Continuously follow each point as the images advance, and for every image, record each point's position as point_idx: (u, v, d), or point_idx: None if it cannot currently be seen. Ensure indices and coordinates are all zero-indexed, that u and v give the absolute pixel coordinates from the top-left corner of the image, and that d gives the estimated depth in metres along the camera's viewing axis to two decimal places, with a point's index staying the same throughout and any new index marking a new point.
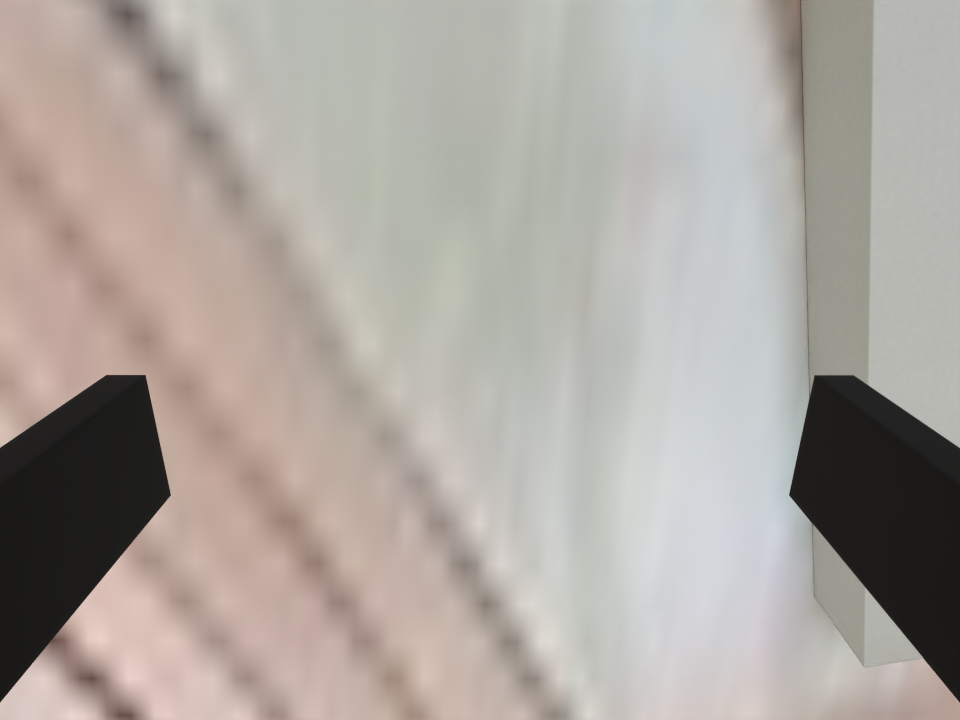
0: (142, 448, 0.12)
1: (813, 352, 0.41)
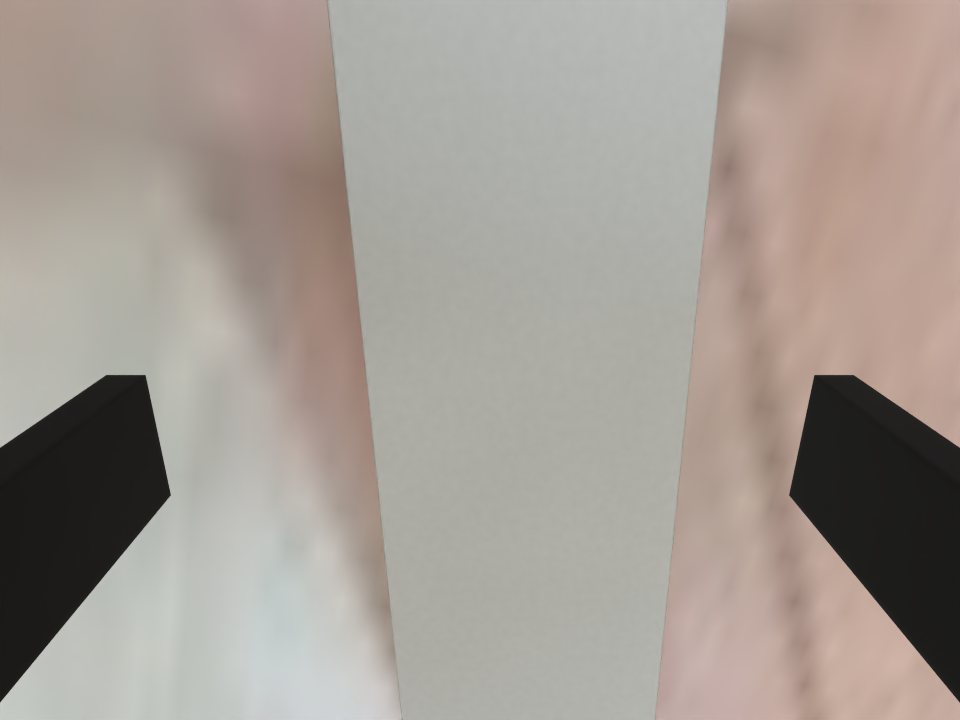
0: (142, 448, 0.12)
1: None
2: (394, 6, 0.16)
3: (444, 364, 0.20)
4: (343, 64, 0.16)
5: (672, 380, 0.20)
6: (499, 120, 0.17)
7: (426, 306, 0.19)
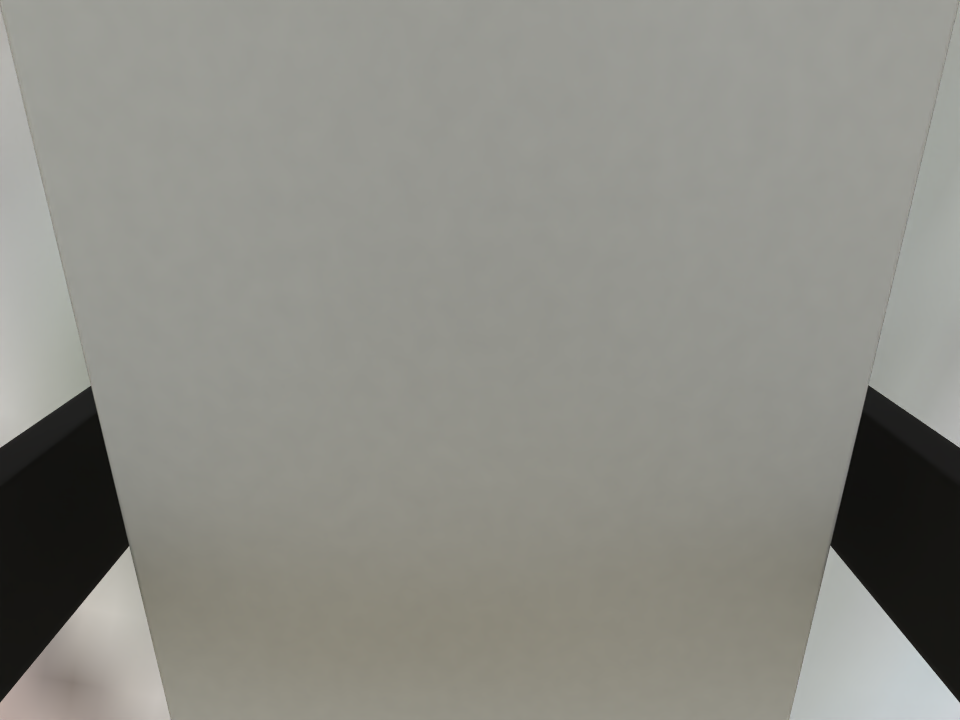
0: None
1: None
2: (167, 51, 0.07)
3: (321, 717, 0.10)
4: (61, 176, 0.07)
5: None
6: (418, 301, 0.08)
7: (280, 627, 0.10)
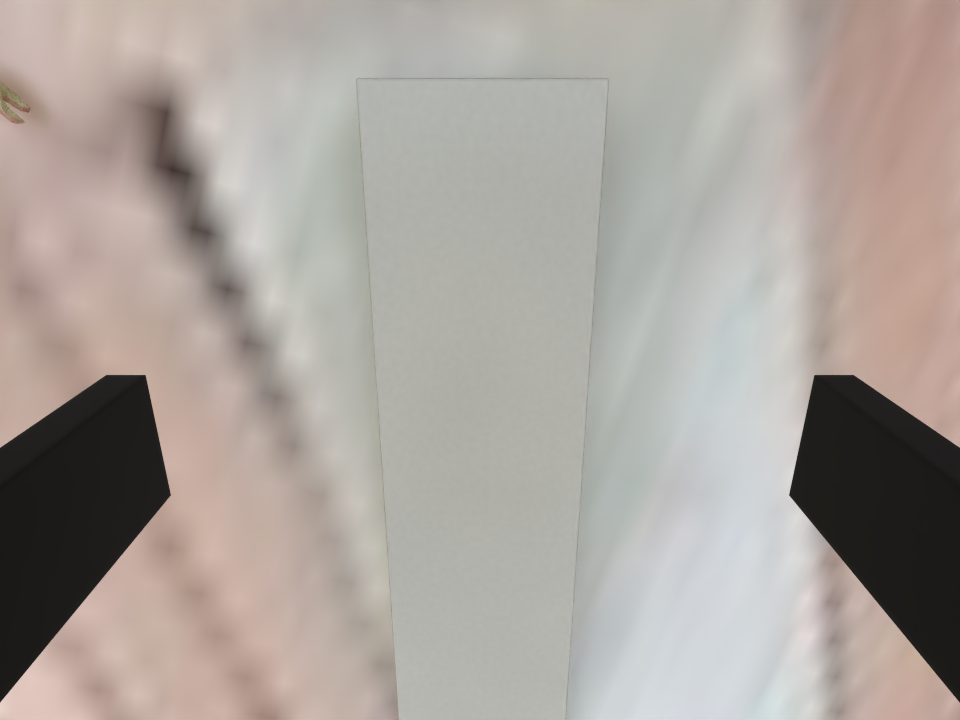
0: (142, 448, 0.12)
1: None
2: (399, 95, 0.26)
3: (426, 325, 0.29)
4: (365, 129, 0.26)
5: (579, 341, 0.29)
6: (464, 167, 0.27)
7: (414, 285, 0.28)
